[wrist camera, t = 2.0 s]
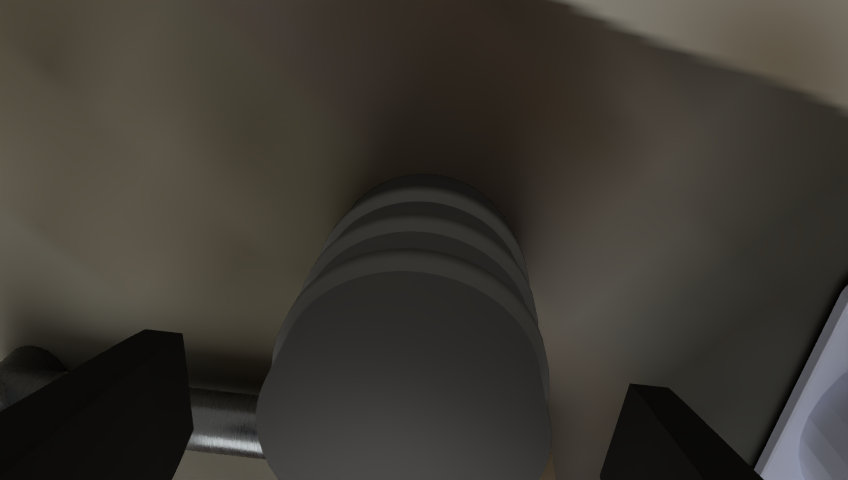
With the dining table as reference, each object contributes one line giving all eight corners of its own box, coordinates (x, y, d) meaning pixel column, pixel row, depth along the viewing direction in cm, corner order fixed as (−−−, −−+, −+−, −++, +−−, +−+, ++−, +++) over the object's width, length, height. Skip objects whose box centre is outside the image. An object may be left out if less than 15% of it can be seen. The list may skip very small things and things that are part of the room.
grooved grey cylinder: (538, 179, 13) (594, 327, 7) (505, 348, 15) (530, 560, 9) (333, 157, 13) (237, 286, 7) (329, 327, 15) (252, 526, 9)
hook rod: (474, 397, 15) (476, 486, 13) (467, 439, 16) (468, 531, 13) (4, 343, 16) (-92, 418, 13) (17, 386, 16) (-72, 466, 14)
